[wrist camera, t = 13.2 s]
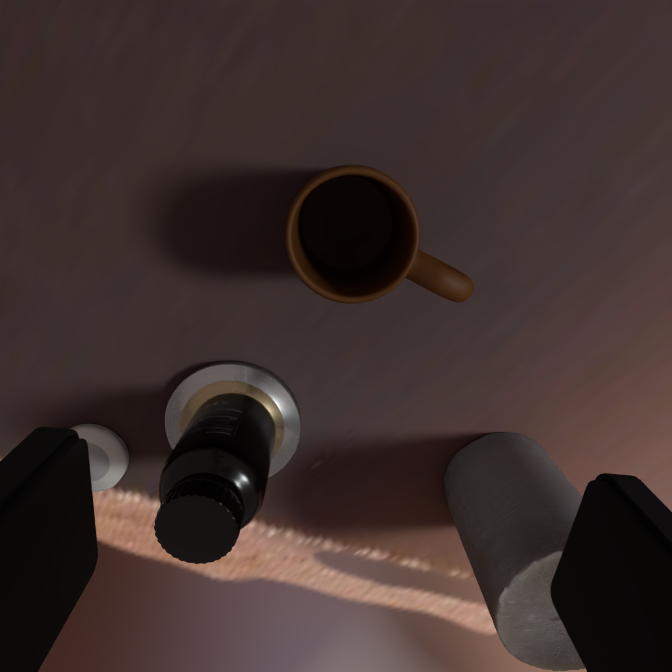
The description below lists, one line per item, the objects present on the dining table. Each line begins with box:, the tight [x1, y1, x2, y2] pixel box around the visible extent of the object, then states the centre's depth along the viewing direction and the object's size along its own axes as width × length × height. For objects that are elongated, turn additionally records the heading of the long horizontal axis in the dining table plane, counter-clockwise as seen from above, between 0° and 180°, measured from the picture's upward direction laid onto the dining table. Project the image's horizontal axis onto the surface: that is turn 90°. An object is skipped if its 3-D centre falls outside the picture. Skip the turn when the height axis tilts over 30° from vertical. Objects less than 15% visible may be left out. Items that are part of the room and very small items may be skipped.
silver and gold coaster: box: [165, 361, 301, 478], centre depth 38 cm, size 11×11×1 cm
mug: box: [285, 165, 474, 304], centre depth 30 cm, size 12×8×9 cm, turn 64°
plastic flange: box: [70, 424, 129, 492], centre depth 39 cm, size 6×6×1 cm
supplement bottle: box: [154, 393, 276, 564], centre depth 32 cm, size 7×7×12 cm
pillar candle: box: [444, 432, 585, 671], centre depth 34 cm, size 10×10×15 cm
